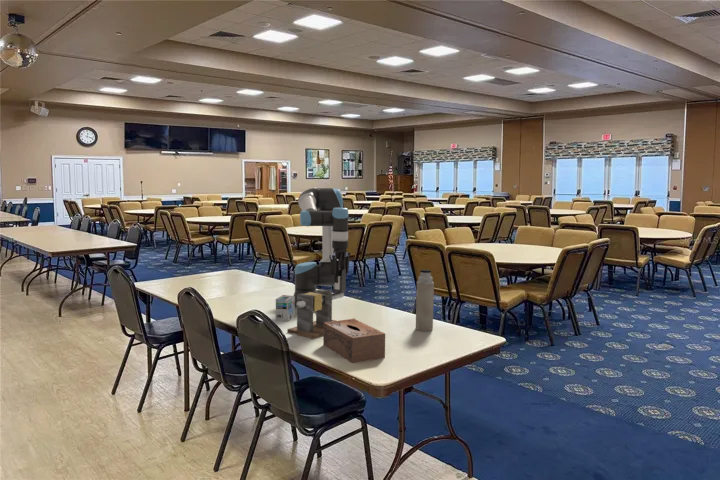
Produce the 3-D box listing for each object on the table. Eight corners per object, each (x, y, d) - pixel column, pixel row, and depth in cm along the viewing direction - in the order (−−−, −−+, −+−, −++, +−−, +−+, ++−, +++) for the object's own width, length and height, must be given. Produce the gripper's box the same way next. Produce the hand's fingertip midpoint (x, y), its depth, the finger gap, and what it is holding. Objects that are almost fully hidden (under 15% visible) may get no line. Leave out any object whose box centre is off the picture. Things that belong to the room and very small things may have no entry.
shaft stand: (324, 321, 272) (325, 285, 270) (350, 326, 262) (350, 289, 260) (287, 332, 251) (287, 293, 249) (313, 338, 241) (314, 298, 240)
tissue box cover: (323, 345, 232) (323, 322, 231) (353, 341, 239) (353, 318, 238) (352, 363, 210) (352, 338, 209) (384, 358, 217) (385, 333, 216)
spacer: (310, 307, 256) (310, 292, 255) (321, 309, 251) (322, 294, 251) (303, 309, 252) (303, 293, 251) (314, 311, 247) (314, 295, 247)
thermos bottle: (417, 326, 265) (419, 268, 262) (434, 327, 262) (435, 269, 259) (413, 330, 258) (415, 270, 255) (430, 331, 255) (432, 271, 252)
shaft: (337, 296, 269) (337, 268, 268) (345, 298, 266) (345, 269, 265) (294, 307, 246) (294, 276, 244) (303, 309, 243) (303, 277, 241)
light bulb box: (288, 321, 271) (288, 299, 270) (275, 320, 272) (275, 298, 271) (295, 316, 281) (295, 295, 280) (282, 315, 283) (282, 294, 281)
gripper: (344, 238, 272) (344, 285, 275) (323, 240, 260) (322, 290, 262) (356, 239, 268) (356, 287, 270) (335, 242, 255) (335, 292, 258)
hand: (339, 288), depth 266 cm, fingers closed on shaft, 3 cm apart
